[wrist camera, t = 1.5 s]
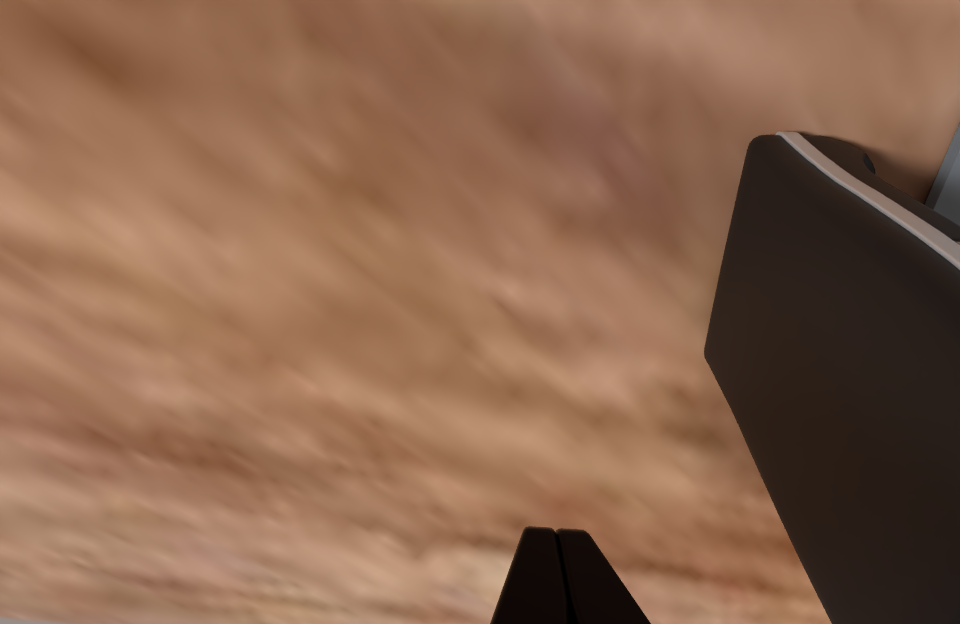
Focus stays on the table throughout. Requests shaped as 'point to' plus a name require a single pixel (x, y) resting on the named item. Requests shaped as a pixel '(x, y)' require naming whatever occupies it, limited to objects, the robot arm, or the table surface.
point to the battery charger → (847, 374)
